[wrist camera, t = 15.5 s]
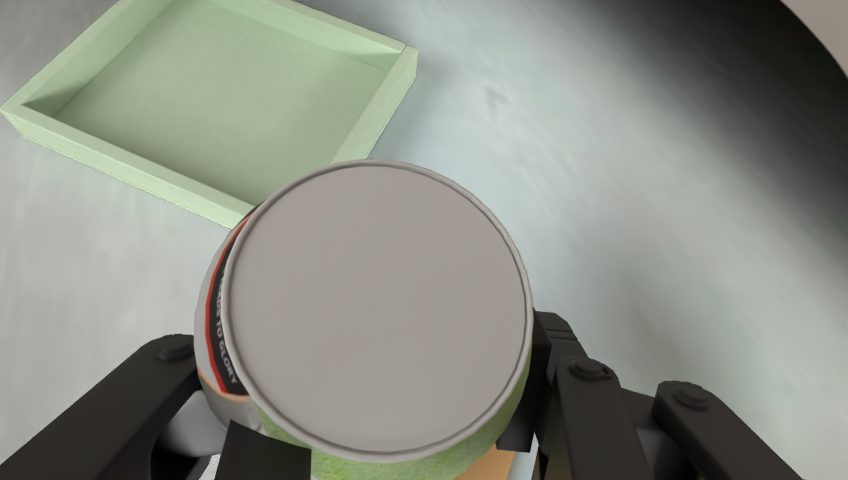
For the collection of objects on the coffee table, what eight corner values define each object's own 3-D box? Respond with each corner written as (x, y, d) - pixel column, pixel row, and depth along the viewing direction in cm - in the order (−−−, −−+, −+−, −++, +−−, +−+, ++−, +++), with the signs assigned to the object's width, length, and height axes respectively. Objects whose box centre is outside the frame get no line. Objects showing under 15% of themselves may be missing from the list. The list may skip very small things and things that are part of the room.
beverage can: (275, 307, 20) (161, 72, 9) (466, 336, 20) (570, 136, 9) (224, 488, 17) (-27, 447, 6) (448, 522, 17) (570, 535, 6)
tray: (24, 137, 29) (-4, 108, 27) (181, -14, 36) (169, -47, 34) (303, 261, 27) (297, 240, 25) (416, 77, 34) (419, 48, 32)
